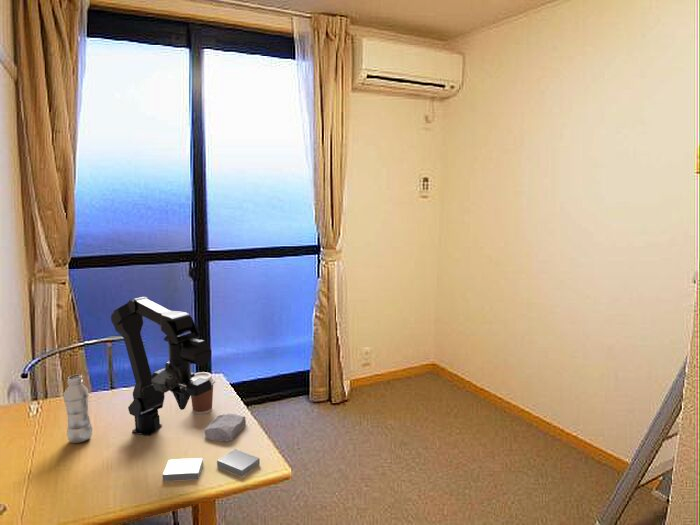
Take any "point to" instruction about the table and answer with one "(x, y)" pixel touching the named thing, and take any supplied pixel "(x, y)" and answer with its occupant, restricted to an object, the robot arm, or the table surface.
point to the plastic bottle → (77, 410)
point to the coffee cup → (203, 395)
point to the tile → (238, 462)
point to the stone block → (225, 427)
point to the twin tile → (183, 469)
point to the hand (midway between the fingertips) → (182, 409)
